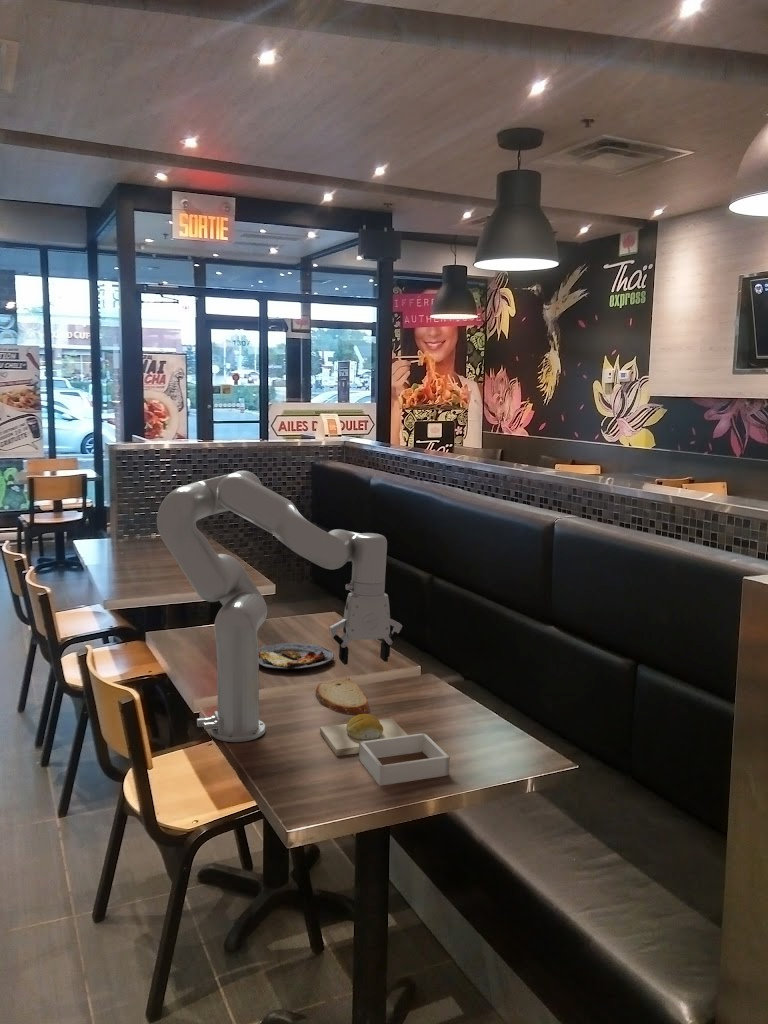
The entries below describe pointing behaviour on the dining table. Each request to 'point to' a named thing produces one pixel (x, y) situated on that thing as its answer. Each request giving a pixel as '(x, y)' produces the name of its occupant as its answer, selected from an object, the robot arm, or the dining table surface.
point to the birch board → (349, 745)
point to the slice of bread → (343, 697)
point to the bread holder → (404, 770)
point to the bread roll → (364, 727)
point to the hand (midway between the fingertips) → (364, 661)
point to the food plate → (293, 656)
